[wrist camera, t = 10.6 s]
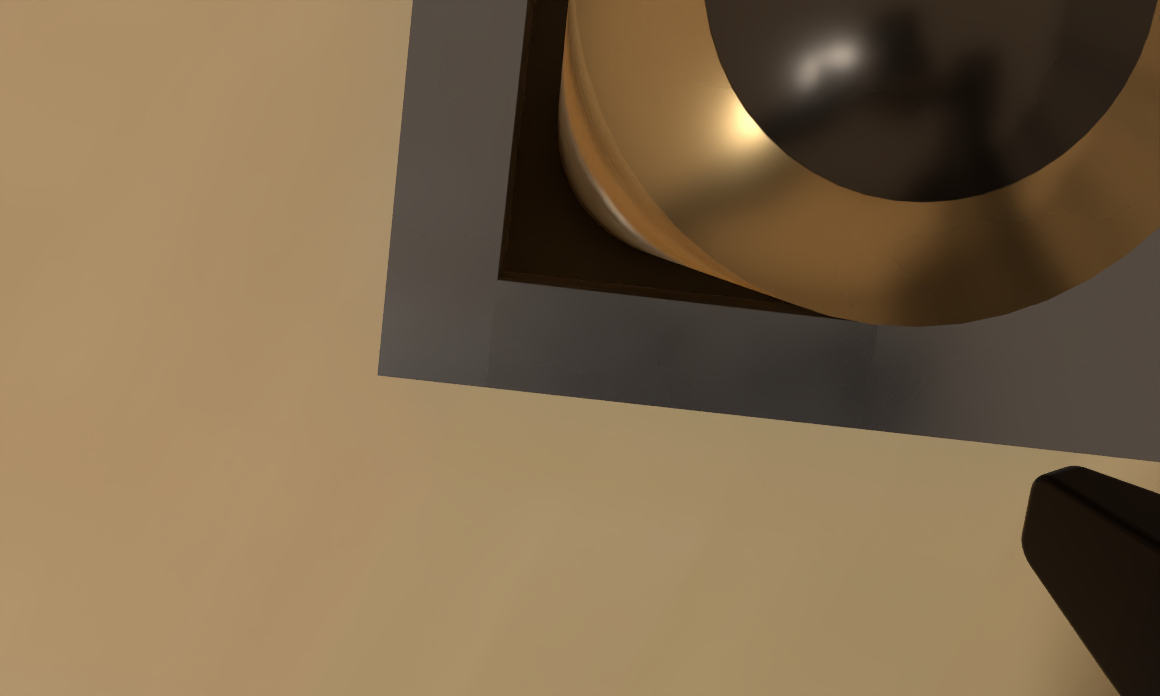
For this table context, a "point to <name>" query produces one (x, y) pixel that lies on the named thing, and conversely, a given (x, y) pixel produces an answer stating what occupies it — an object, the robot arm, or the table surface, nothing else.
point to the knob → (870, 145)
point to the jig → (718, 301)
